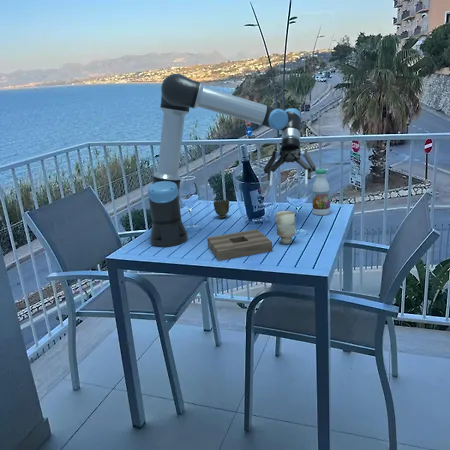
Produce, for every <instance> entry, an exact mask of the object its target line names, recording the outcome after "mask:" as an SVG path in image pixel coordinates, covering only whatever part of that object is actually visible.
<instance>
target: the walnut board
mask: <svg viewBox="0 0 450 450" xmlns="http://www.w3.org/2000/svg"><path fill="white" fill-rule="evenodd" d="M206 239H207V246H208V248H209V250H210V251H211V252H212V253H213V255H214V256H215V258H216V259H217V261H219V262H220V261H225V260H226V261H227V260H231V258H232V259H236V258H241V257H242V256H243V257H247V256H253V255H258V254H264V253H268V252H273V242H272V241H271V239H269V238H268V237H267V236H265V235H264V234H263V233H262V232H261V231H259V230H258V229H251V230H244V231H239V232H238V231H237V232H233V233H232V232H231V233H226V234H221V235H215V236H208V237H207V238H206Z"/></svg>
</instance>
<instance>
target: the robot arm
mask: <svg viewBox="0 0 450 450" xmlns="http://www.w3.org/2000/svg"><path fill="white" fill-rule="evenodd" d="M160 87H161V89H160V90H161V96H160V110H161V111H162V113H163V116H162V124H161V133H160V134H161V135H160V145H159V152H158V153H159V154H158V163H157V171H156V172H155V173H153V175H152V183H151V184H150V185H148V188H147V197H148V201H149V209H150V216H151V222H152V225H151V230H150V231H151V232H150V236H149V239H150V245H152V246H153V247H159V248H163V247H164V248H166V247H167V248H168V247H172V246H173V247H175V246H179V245H181V244H183V243H186V241H188V240H189V237H188V231H187V230H186V227H185V226H184V223H183V221H182V214H181V206H180V205H181V204H180V189H181V181H182V177H181V176H180V174H179V167H180V158H181V151H182V142H183V134H184V127H185V125H184V124H185V118H186V117H185V116H186V115H188V114H189V113H190V108H191V109H197V108H201V109H204V110H208V111H211V112H214V113H218V114H221V115H225V116H229V117H232V118H235V119H238V120H242V121H246V122H249V123H253V124H255V125H259V126H260V127H261V126H263V127H266V128H268V129H269V128H270V129H272V130H274V131H275V130H276V131H278V130H279V131H281V143H280V144H281V145H280V152H277V151H276V150H273V152H272V156H271V157H270V159H268V161H267V163H266V164H265V166H264V168H263V172H264V174H267V180H268V182H269V189H270V190H273V188H274V187H273V186H274V173H275V171H276V170H277V169H279V168H280V166H282V165H284V163H294V162H296V163H297V164H298V165H299V166H301V167H302V168H303V169H304V170H305V175H304V177H305V179H304V181H305V183H304V184H305V185H304V186H305V189H307V188H309V187H308V185H309V183H308V182H309V180H311V179H312V173H313V172H316V170H317V168H316V165H315V163H314V162H313V159H311V157H310V155H309V154H308V149H306V148H305V149H304V150H300V149H301V125H302V124H301V123H302V115H301V111H300V110H299V109H297V108H295V107H294V108H293V107H291V108H287V109H285V110H284V109H281V108H276V107H273V106H268V105H266V104H263V103H259V102H257V101H252V100H249V99H247V98H246V99H245V98H243V97H239V96H236V95H233V94H229V93H226V92H224V91H219V90H217V89H214V88H209V87H207V86H203V84H202V82H199V81H197V80H194V79H191V78H189V77H187V76H186V75H183V74H181V73H171V74H169V75H168V76H166V77H165V78H164V80H163V81H162V84H161V86H160ZM301 155H302V156H303V157H304V158H305V160H306V162H307V163H308V164H307V163H306V162H305V161H304V160H303V159H302V158H301V157H300V156H301ZM278 157H279V158H278Z"/></svg>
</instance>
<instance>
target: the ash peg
mask: <svg viewBox="0 0 450 450" xmlns="http://www.w3.org/2000/svg"><path fill="white" fill-rule="evenodd" d="M295 216H296V215H295V212H294V211H292V210H281V211H277V212H276V214H275V220H276V222H275V224H276V235H277V236H278V237H279V238H280V243H281V244H282V245H289V244H292V242H293V239H292V238H293V237H294V236H295V235H296V217H295Z"/></svg>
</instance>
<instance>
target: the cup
mask: <svg viewBox="0 0 450 450" xmlns="http://www.w3.org/2000/svg"><path fill="white" fill-rule="evenodd" d="M213 208H214V211H215V214H216V215H218V218H219V219H226V218H227V214H228V213H229V211H230V210H229V209H230V200H229V199H226V200H225V199H221V200H220V199H219V200H217V199H216V200H214V201H213Z"/></svg>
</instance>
